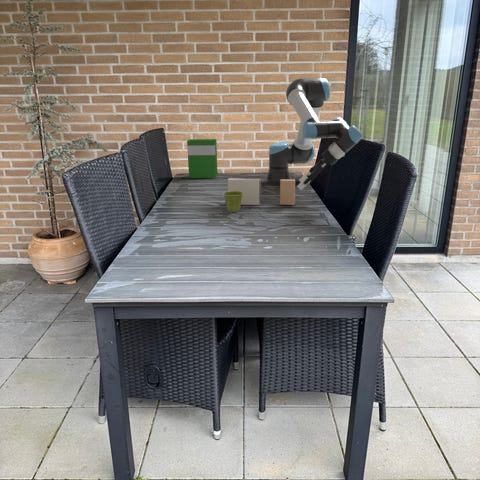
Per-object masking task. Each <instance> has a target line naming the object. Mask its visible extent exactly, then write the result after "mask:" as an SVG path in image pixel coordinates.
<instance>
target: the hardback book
mask: <svg viewBox="0 0 480 480" xmlns="http://www.w3.org/2000/svg"><path fill="white" fill-rule="evenodd" d="M217 142H218V141H217V139H216V138H207V139H206V138H205V139H204V138H203V139H202V138H200V139H199V138H198V139H197V138H196V139H191V138H190V139H188V140H186V147H187V148H186V149H187V162H188V163H187V164H188V165H187V167H188V178H216V179H217V177H216V176H219V173H218V171H219V170H218V149H217V148H218V147H217Z"/></svg>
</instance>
